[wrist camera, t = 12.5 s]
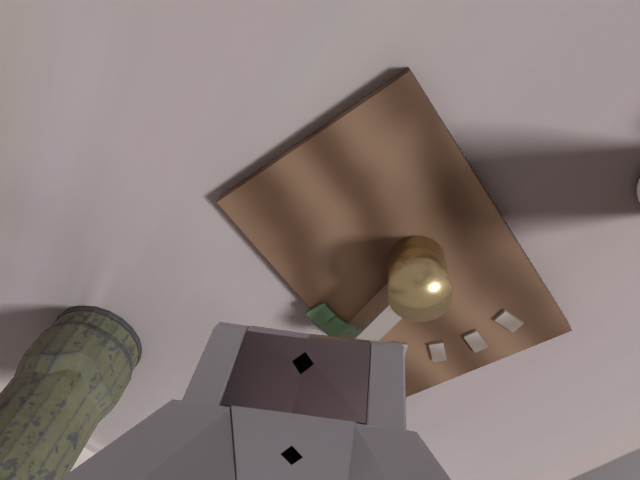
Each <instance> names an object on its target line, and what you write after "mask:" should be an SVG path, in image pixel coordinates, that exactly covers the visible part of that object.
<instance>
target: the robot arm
mask: <svg viewBox="0 0 640 480" xmlns="http://www.w3.org/2000/svg"><path fill="white" fill-rule="evenodd" d="M60 480H451V479H450V478H449V476H448V475H447V474H446V472H445V471H444V469H443V468H442V467H441V465H440V464H439V463H438V461H437V460H436V458H435V457H434V456H433V454H432V453H431V451H430V450H429V449H428V447H427V446H426V444H425V443H424V442H423V440H422V439H421V437H420V436H419V435H418V433H417V432H414V431H408V430H406V392H405V348H404V346H403V344H402V343H392V342H383V341H373V340H372V341H371V342H370V340H362V339H353V338H343V337H334V336H325V335H316V334H306V333H299V332H292V331H285V330H278V329H271V328H264V327H257V326H244V325H238V324H231V323H225V322H219V323H218V324H217V326H216V327H215V328H214V329H213V331H212V334H211V336H210V338H209V340H208V343H207V345H206V347H205V350H204V352H203V354H202V356H201V359H200V361H199V363H198V365H197V368H196V370H195V372H194V375H193V377H192V379H191V381H190V384H189V386H188V388H187V390H186V393H185V395H184V397H183V399H182V400H173V399H172V400H171V401H170V402H168V403H167V404H165V405H164V406H163V407H161V408H160V409H158V410H157V411H156V412H154V413H153V414H151V415H150V416H148V417H147V418H146V419H144V420H143V421H141V422H140V423H139V424H137V425H136V426H134V427H133V428H132V429H130V430H129V431H127V432H126V433H125V434H123V435H122V436H120V437H119V438H117V439H116V440H115V441H113V442H112V443H110V444H109V445H108V446H106V447H105V448H103V449H102V450H101V451H99V452H98V453H96V454H95V455H94V456H92V457H91V458H89V459H88V460H87V461H85V462H84V463H82V464H81V465H79V466H78V467H77V468H75V469H74V470H72V471H71V472H70V473H68V474H67V475H65V476H64V477H63V478H61V479H60Z"/></svg>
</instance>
